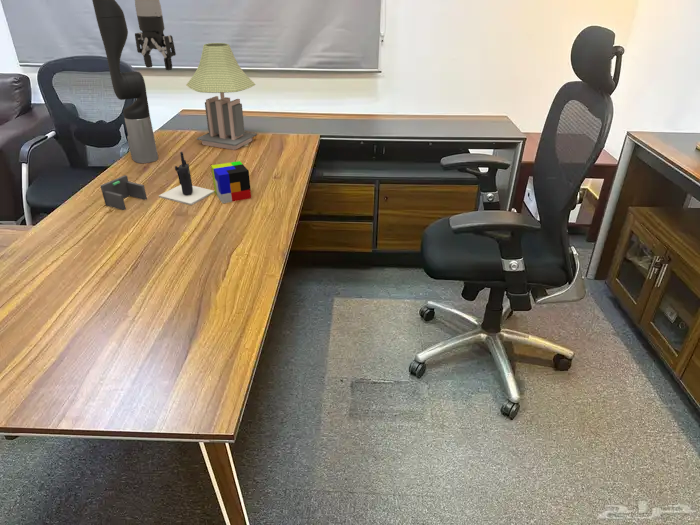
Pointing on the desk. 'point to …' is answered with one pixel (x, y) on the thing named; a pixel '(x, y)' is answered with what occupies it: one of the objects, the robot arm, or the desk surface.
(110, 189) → the dock
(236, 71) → the desk lamp
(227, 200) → the puzzle toy
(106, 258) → the desk surface
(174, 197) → the mat
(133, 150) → the robot arm
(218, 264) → the desk surface
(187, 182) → the two-way radio
